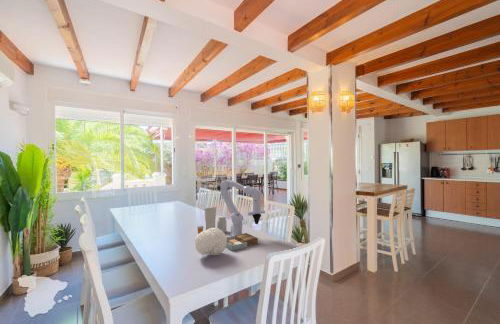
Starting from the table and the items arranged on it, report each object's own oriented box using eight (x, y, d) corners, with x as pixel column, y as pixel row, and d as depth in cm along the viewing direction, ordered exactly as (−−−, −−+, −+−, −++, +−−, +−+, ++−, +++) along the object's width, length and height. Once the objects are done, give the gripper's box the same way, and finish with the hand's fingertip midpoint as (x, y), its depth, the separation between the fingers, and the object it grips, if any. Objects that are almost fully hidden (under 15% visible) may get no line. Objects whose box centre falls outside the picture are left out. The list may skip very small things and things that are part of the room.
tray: (220, 244, 163) (220, 238, 163) (234, 240, 170) (234, 235, 170) (232, 251, 150) (232, 245, 150) (247, 247, 157) (247, 242, 157)
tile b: (238, 241, 162) (238, 244, 162) (233, 242, 159) (233, 245, 159) (242, 243, 158) (242, 246, 158) (236, 244, 156) (236, 247, 156)
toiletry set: (223, 229, 197) (223, 205, 197) (228, 232, 191) (228, 206, 191) (195, 235, 182) (195, 208, 182) (199, 238, 176) (199, 210, 176)
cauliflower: (214, 248, 156) (214, 223, 156) (233, 255, 145) (233, 228, 145) (188, 257, 140) (189, 229, 140) (208, 266, 129) (208, 236, 129)
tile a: (234, 239, 166) (234, 241, 166) (228, 240, 164) (228, 243, 164) (237, 240, 163) (237, 243, 163) (232, 242, 160) (232, 245, 160)
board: (234, 240, 170) (234, 235, 170) (246, 238, 176) (246, 233, 176) (246, 246, 158) (246, 240, 158) (257, 243, 164) (257, 238, 164)
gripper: (252, 207, 170) (252, 226, 170) (267, 205, 178) (267, 223, 178) (246, 206, 175) (246, 224, 175) (261, 204, 184) (261, 221, 184)
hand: (256, 223), depth 177 cm, fingers closed
